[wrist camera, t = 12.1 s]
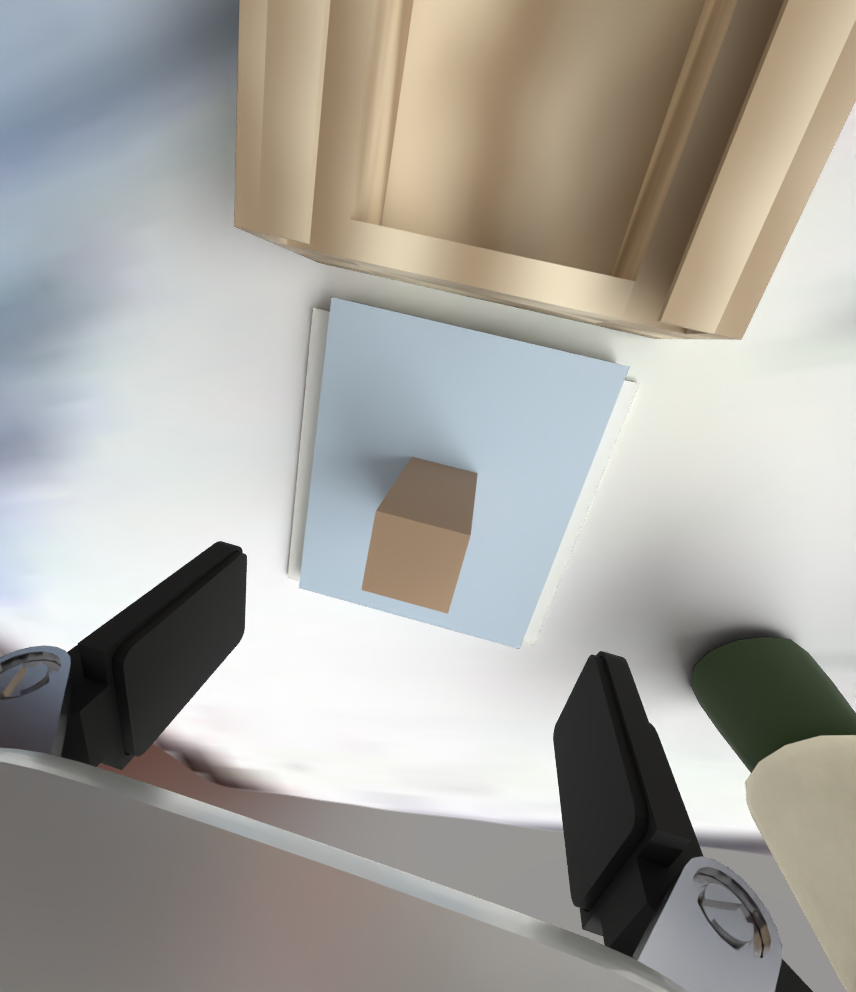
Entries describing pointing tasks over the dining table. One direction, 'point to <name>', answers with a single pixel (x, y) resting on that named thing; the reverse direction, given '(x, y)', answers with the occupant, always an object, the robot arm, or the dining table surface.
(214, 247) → the dining table surface
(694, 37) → the wooden tray
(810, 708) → the character mug
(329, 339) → the lid
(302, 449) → the felt mat
